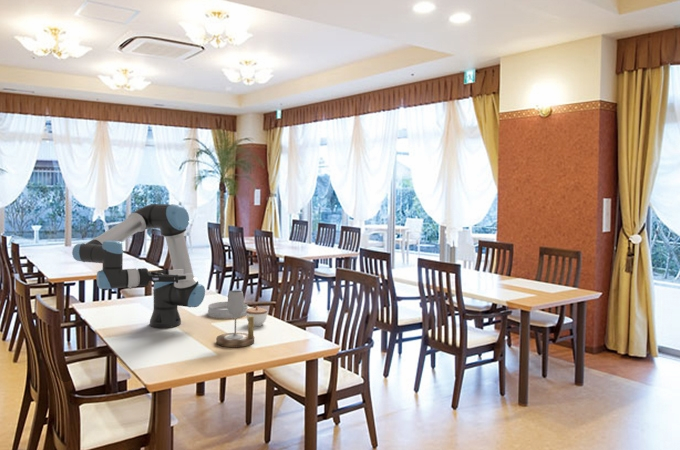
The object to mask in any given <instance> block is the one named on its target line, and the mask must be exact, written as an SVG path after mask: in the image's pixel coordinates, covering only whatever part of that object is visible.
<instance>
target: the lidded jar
mask: <svg viewBox="0 0 680 450" xmlns="http://www.w3.org/2000/svg"><path fill="white" fill-rule="evenodd" d="M248 316H254V327H261V326H263V324H265V322H266V320H267V318H268V317H267V316H268V310H267V308H263V307H259V306H255V307H251V308H247V310H246V320H247V321H248Z"/></svg>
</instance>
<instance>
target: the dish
mask: <svg viewBox="0 0 680 450" xmlns="http://www.w3.org/2000/svg"><path fill="white" fill-rule="evenodd" d="M227 302H228V301H217V302H213V303H210V304H209V305H208V307H207V308H208V309H207V315H208V316H209V317H211V318H215V317H216V319H235V318H234V316H232V315H231V314H230V313H229V311H228V309H227ZM247 309H249V306H248V304H247V303H245V302H244V310H243V311H242V313H241V314H240V315H239V316H237V318H242V317H245V316H246V317H247V315H246V310H247Z"/></svg>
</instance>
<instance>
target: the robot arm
mask: <svg viewBox="0 0 680 450" xmlns="http://www.w3.org/2000/svg"><path fill="white" fill-rule="evenodd" d="M189 221H190V215H189V213H188V210H187V209H186V208H185V207H184V206H182V205H179V204H175V203H173V204H163V203H161V204H160V203H152V204H148V205H145V206H142V207H141V208H140V207H139V208H138V209H136V210H134V211H132V212H131V213H130V214H129V215H128V216H127V218H125V219H123V221H121V222H119V223H118V224H116V225H115V226H112V227H111V228H109V229H108V230H106V231H104V232H103V233H101V234H99V235H98V236H96V237H95V238H93V239H91V240H89V241H88V242H86V243H83V242H81V243H77V244H76V245H74V246H73V248H72V251H71V253H72V257H73V259H74V260H75V261H76V262H82V263H93V264H94V263H95V264H102V269H101V270H98V271H97V272H96V286H97V287H98V288H99V289H100V290H103V289H104V290H107V289H109V290H112V289H113V290H114V289H122V288H128V289H132V288H136V287H139V288H140V287H147V286H149V283H150V282H152V283H153V289H152V290H153V311H152V313H151V315H150V316H151V317H150V319H149V326H150V327H153V328H158V329H166V328H167V329H168V328H173V327H178V326H180V325H181V324H182V318H181V316H180V313H179V310H178V309H179V308H178V307H188V308H197V307H200V306H201V304H202V303H203V302H204V299H205V295H206V288H205V286H204V285H203V284H201V283H199V280H198V277H197V276H195V275H194V272H193V269H192V263H191V259H190V255H189V254H190V253H189V250H188V245H187V242H186V241H187V240H186V237H185V232H187V228H188V226H189V224H190V223H189ZM148 229H159V230H160V234H161V236H162V237H164V238H165V240H166V241H165V242H166V245H167V249H168V253H169V257H170V261H171V266H172V269H169V268H168V267H167V268H166V267H165V269H158V270H152V271H149V270H148V268H146V267H143V268H127V269H126V268H125V269H123V268H124V267H123V265H124V264H123V260H124V259H123V257H124V256H123V254H124V250H123V242H124V241H126V240H127V239H129V238H130V237H132V236H133V235H135V234H136V233H141V232H144V231H145V230H148Z"/></svg>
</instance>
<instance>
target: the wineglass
mask: <svg viewBox="0 0 680 450" xmlns="http://www.w3.org/2000/svg"><path fill="white" fill-rule="evenodd" d="M226 302H227V309H228V311H229V313H230V314H231V315H232V316H234V318H233V319H234V332H233V333H234V334H233V335H229V336H227V338H229V339H241V338H243V336H242V335H237V333H238V332H237V316H239V315H240V314H241V313H242V311H243V310H244V303H245V298H244V293H243V291H242V290H239V289H236V290H229V292H228V296H227V301H226Z"/></svg>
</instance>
